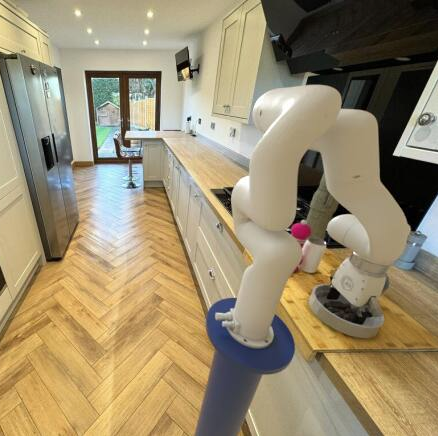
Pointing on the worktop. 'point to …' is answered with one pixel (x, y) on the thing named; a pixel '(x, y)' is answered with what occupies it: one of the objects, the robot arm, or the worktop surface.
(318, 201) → the moai statue figurine
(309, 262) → the can
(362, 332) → the bowl
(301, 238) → the pepper mill
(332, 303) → the chocolate capsule cluster
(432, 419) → the worktop surface
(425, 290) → the worktop surface
